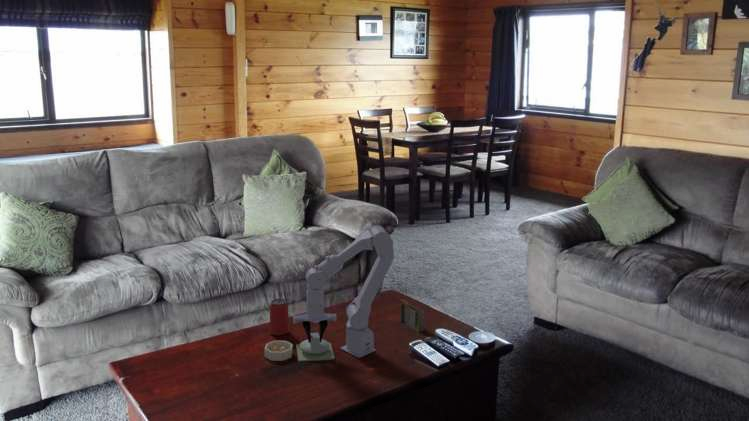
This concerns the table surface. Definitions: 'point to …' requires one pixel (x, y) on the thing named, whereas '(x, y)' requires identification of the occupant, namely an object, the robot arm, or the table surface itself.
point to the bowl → (278, 350)
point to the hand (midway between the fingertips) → (314, 341)
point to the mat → (314, 355)
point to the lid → (314, 345)
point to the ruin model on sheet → (412, 316)
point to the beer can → (279, 317)
